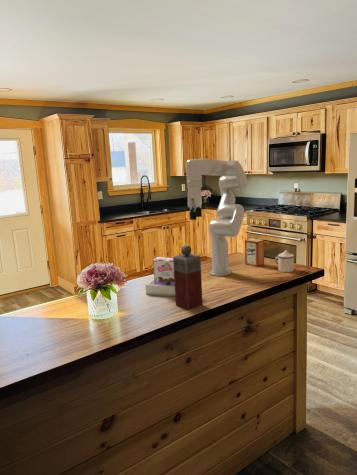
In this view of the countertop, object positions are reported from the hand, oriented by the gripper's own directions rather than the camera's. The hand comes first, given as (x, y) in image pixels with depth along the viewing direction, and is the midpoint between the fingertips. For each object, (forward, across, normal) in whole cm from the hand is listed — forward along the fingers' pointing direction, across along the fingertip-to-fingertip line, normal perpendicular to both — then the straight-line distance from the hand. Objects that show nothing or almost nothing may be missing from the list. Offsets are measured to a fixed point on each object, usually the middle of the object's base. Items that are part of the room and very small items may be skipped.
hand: (196, 218), depth 193 cm
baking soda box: (+36, -46, +23) cm, 63 cm away
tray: (+36, +11, -13) cm, 40 cm away
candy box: (+36, +11, -13) cm, 39 cm away
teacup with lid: (+36, -37, +41) cm, 66 cm away
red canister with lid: (+36, +26, +2) cm, 45 cm away
